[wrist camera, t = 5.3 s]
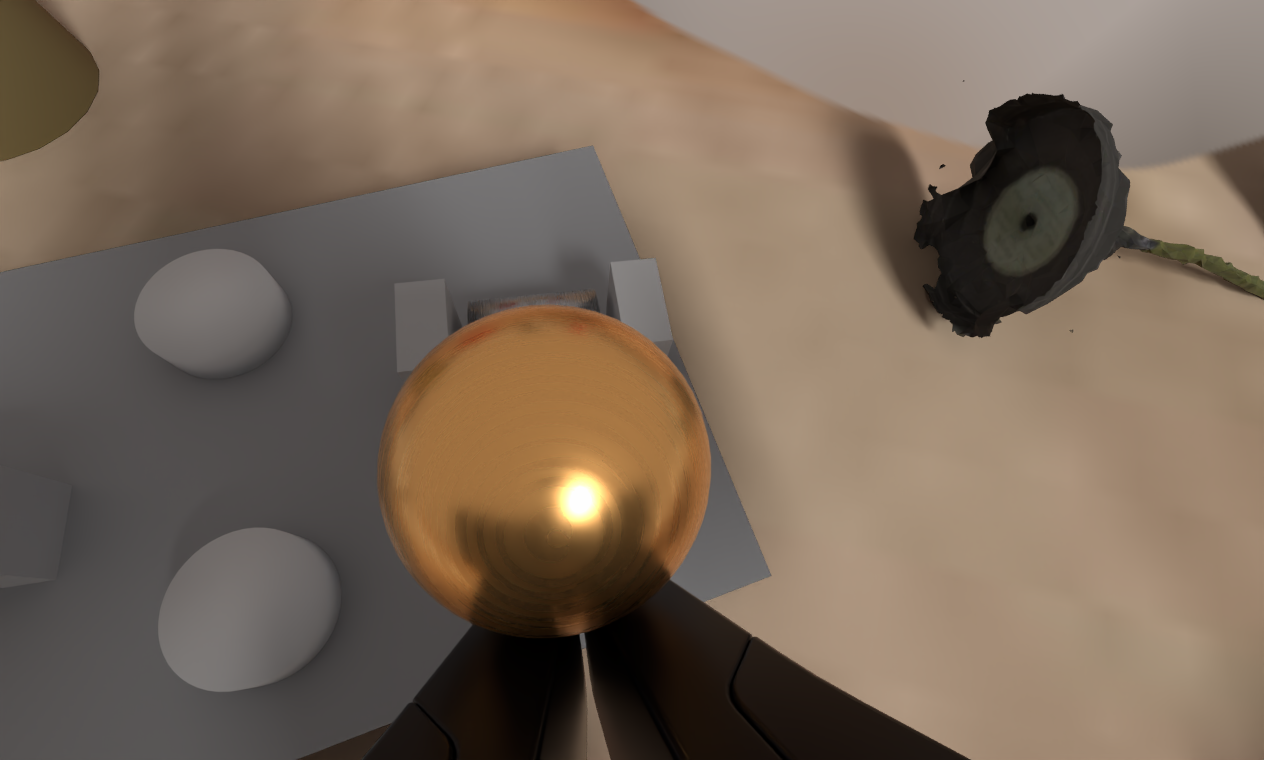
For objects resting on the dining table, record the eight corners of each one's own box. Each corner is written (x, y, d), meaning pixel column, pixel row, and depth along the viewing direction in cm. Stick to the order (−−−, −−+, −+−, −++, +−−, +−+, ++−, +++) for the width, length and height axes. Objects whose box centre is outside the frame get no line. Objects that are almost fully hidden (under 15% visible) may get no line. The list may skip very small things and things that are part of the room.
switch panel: (743, 583, 16) (820, 562, 11) (-218, 953, 12) (-802, 1193, 7) (591, 199, 20) (596, 58, 15) (-157, 373, 16) (-490, 258, 11)
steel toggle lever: (603, 388, 16) (770, 681, 5) (484, 403, 15) (372, 760, 4) (591, 269, 15) (750, 297, 4) (466, 281, 14) (281, 350, 4)
